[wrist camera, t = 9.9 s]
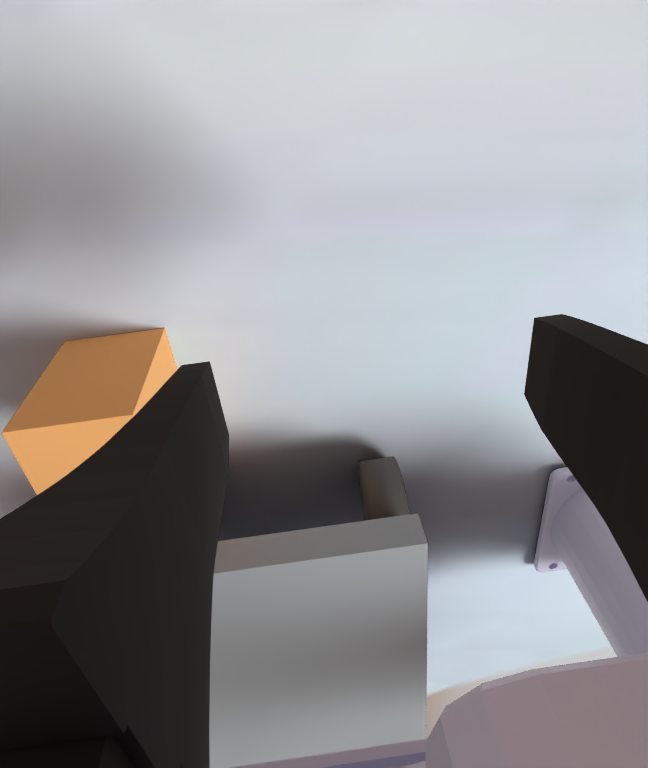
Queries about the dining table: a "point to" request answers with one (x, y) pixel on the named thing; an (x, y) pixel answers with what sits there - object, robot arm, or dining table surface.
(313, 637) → the toy platform cart
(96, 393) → the orange block
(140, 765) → the robot arm
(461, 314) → the dining table surface
